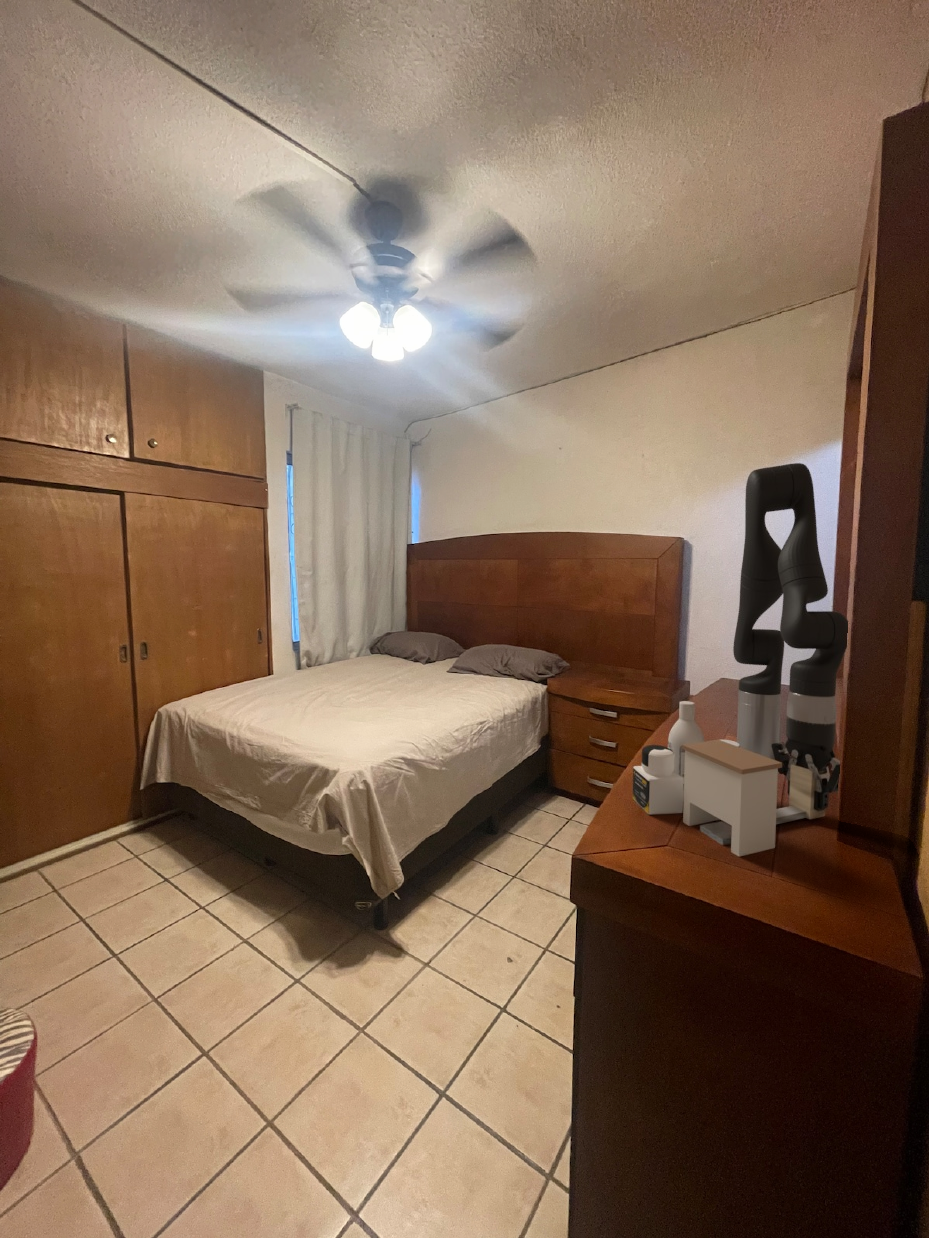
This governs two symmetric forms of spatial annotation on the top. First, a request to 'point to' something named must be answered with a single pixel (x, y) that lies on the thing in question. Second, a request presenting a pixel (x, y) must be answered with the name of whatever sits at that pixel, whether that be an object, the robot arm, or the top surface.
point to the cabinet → (732, 792)
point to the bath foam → (683, 736)
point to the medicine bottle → (658, 782)
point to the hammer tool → (800, 797)
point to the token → (718, 832)
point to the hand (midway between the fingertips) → (806, 803)
